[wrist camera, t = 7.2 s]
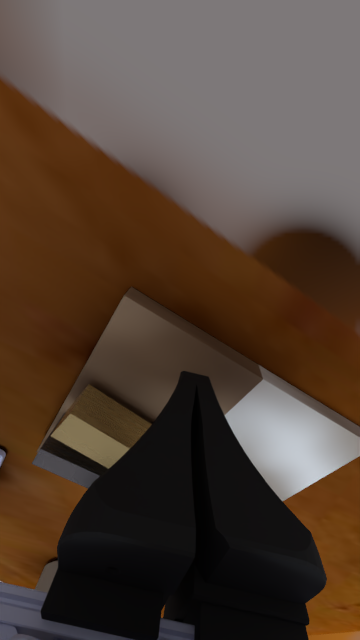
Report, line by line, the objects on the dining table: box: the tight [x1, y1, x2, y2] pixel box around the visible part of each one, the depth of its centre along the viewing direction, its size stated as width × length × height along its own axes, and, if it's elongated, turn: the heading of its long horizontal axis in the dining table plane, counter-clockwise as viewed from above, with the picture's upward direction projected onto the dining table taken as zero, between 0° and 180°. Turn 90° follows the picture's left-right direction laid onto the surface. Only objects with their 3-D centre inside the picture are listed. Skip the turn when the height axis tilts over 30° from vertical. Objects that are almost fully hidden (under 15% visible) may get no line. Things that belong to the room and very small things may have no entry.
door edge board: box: [37, 287, 360, 501], centre depth 16 cm, size 14×16×1 cm
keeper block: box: [32, 413, 108, 488], centre depth 14 cm, size 2×4×2 cm, turn 58°
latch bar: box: [51, 384, 152, 469], centre depth 13 cm, size 9×3×3 cm, turn 50°
